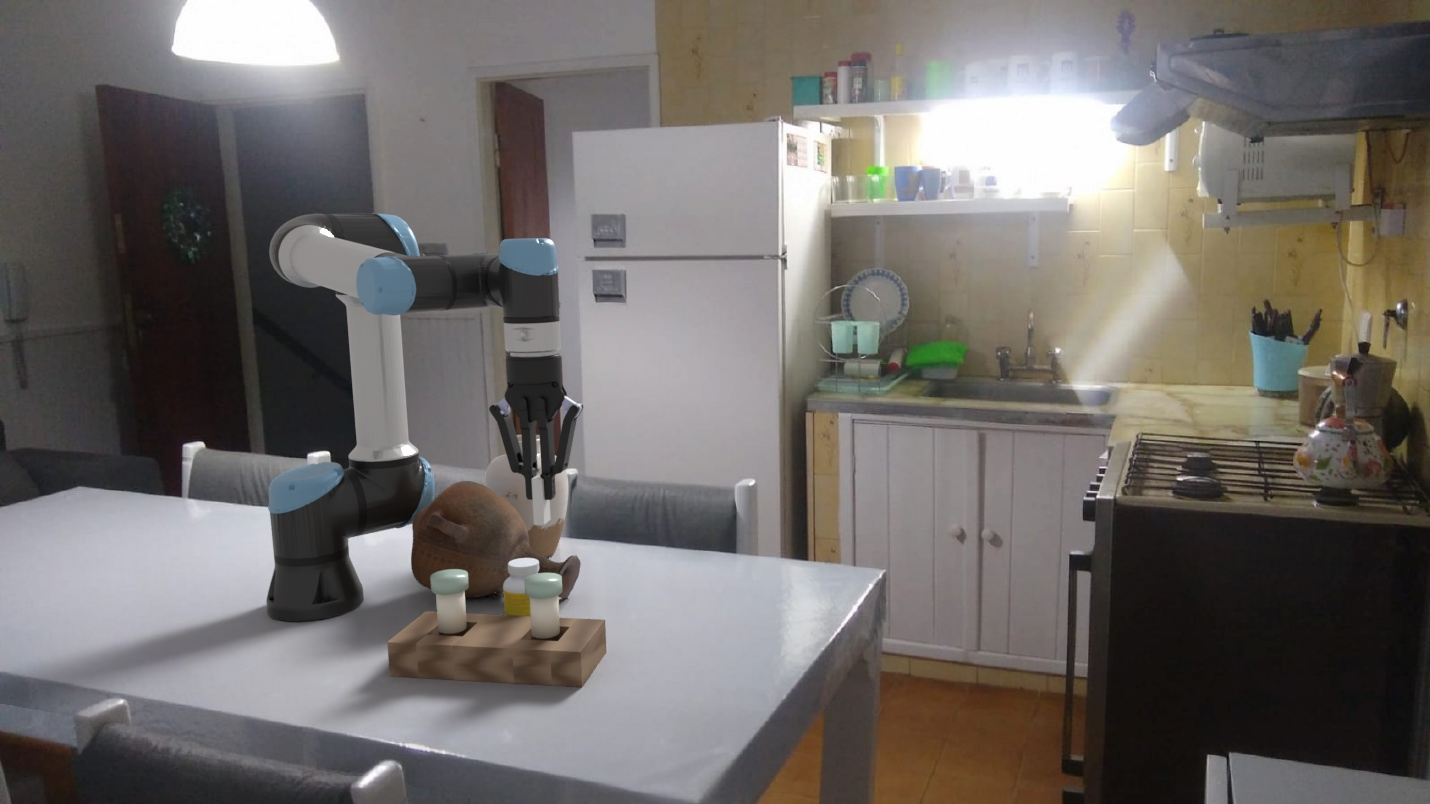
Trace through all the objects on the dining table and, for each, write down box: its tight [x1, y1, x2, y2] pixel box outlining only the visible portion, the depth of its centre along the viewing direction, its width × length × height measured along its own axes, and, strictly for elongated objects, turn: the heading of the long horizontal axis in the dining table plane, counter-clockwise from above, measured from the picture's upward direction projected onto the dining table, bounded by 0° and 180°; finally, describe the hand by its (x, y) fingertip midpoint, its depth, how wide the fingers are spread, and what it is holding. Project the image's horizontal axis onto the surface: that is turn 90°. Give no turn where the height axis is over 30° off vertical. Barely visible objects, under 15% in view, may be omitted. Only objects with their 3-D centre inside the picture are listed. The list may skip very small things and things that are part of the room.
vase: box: [483, 434, 569, 559], centre depth 199 cm, size 16×16×23 cm
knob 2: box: [524, 573, 562, 638], centre depth 146 cm, size 5×5×8 cm
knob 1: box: [430, 569, 469, 634], centre depth 149 cm, size 5×5×8 cm
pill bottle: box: [503, 558, 539, 616], centre depth 159 cm, size 6×6×12 cm
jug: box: [410, 480, 582, 599], centre depth 176 cm, size 20×20×30 cm
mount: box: [386, 611, 607, 688], centre depth 149 cm, size 28×12×5 cm, turn 80°
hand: (542, 522), depth 145 cm, fingers closed
